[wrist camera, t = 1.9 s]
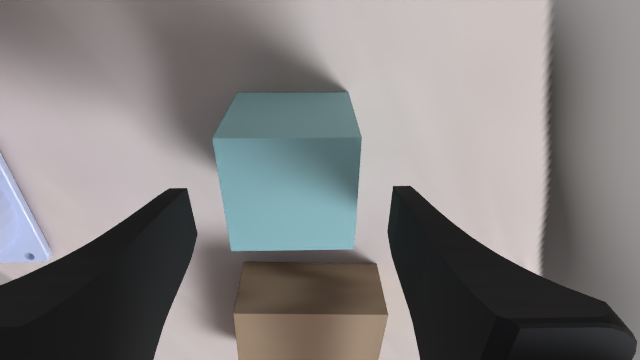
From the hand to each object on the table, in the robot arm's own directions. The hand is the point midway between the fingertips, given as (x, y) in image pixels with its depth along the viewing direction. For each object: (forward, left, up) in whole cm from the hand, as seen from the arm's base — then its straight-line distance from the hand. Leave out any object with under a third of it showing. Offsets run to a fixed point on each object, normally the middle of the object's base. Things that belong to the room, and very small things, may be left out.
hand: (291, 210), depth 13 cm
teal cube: (0, 0, -6) cm, 6 cm away
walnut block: (0, -12, -6) cm, 13 cm away
